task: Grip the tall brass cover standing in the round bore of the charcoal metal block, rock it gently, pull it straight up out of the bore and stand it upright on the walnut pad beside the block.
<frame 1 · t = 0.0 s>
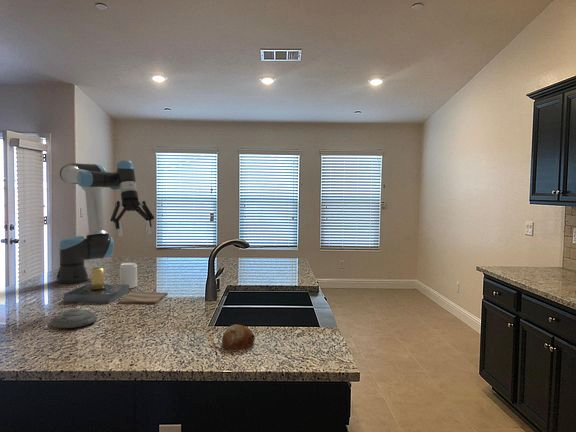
hand: (135, 234, 187), 28 cm above the counter, tool tilted 20°, fingers open, 13 cm apart
white cylinder: (128, 287, 200), on the counter
walnut pad: (144, 298, 179), on the counter
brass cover: (97, 282, 181), in the bore block
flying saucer: (74, 324, 144), on the counter
bread roll: (238, 344, 127), on the counter
bore block: (98, 296, 181), on the counter
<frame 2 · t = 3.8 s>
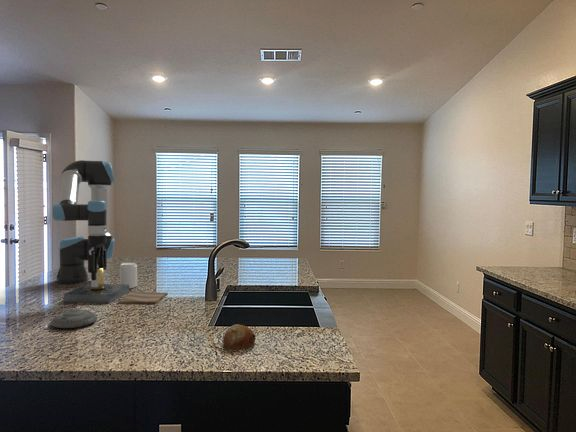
hand: (97, 285, 181), 5 cm above the counter, tool pointing down, fingers closed on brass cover, 5 cm apart
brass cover: (97, 282, 181), in the bore block, touching gripper
everything else where it was.
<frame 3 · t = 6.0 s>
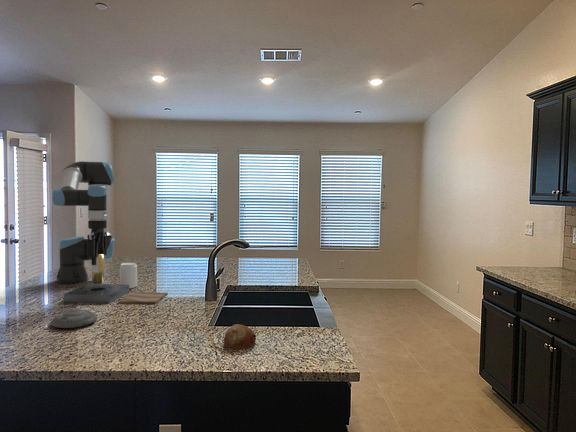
hand: (98, 270, 181), 12 cm above the counter, tool pointing down, fingers closed on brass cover, 5 cm apart
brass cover: (98, 268, 181), point 13 cm above the counter, touching gripper
everything else where it was.
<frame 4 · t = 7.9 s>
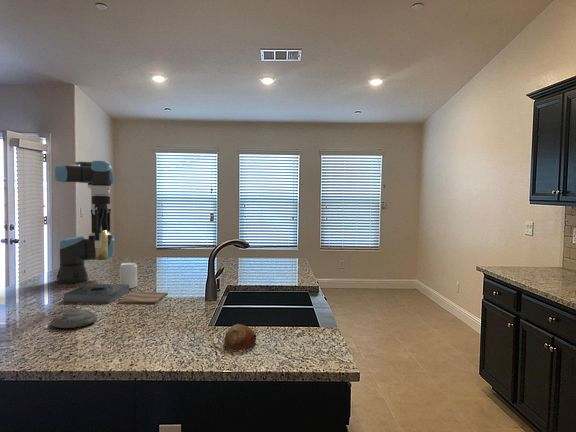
hand: (101, 246, 179), 23 cm above the counter, tool pointing down, fingers closed on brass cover, 5 cm apart
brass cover: (101, 244, 179), point 24 cm above the counter, touching gripper
everything else where it was.
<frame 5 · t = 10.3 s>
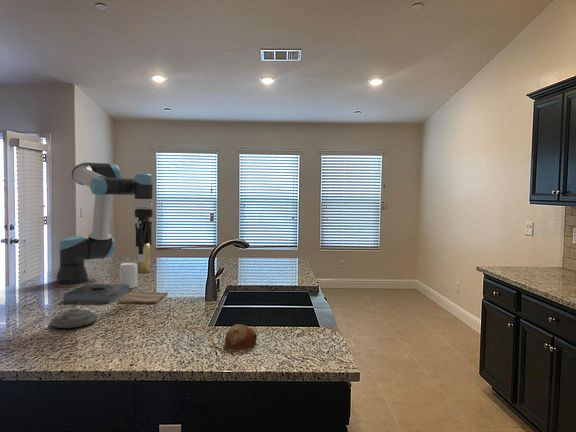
hand: (144, 260, 178), 18 cm above the counter, tool pointing down, fingers closed on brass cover, 5 cm apart
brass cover: (144, 258, 177), point 18 cm above the counter, touching gripper
everything else where it was.
when the fingers open (7 cm above the counter, at t = 12.3 s): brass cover stays where it is, resting on walnut pad.
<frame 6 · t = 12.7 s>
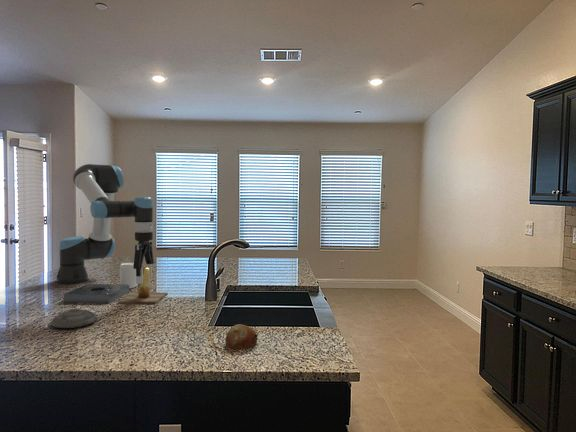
hand: (144, 280, 178), 8 cm above the counter, tool pointing down, fingers open, 10 cm apart
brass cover: (143, 282, 178), on the walnut pad, point 8 cm above the counter
everything else where it was.
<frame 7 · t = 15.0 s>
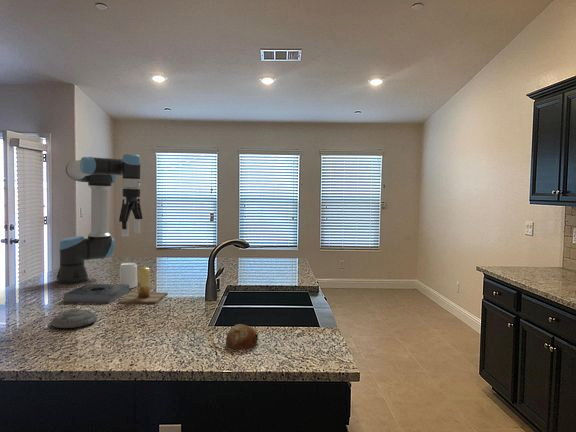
hand: (131, 234, 182), 28 cm above the counter, tool pointing down, fingers open, 13 cm apart
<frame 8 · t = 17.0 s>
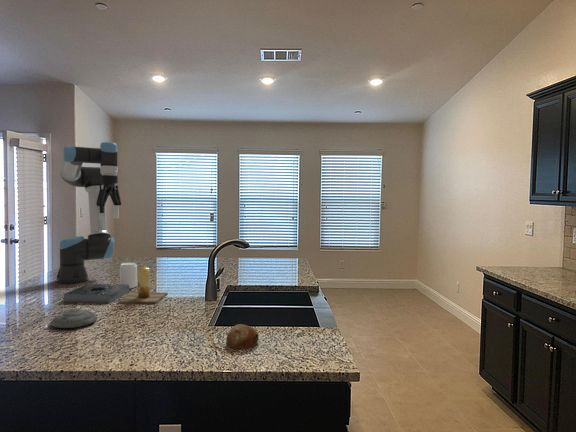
hand: (109, 219, 191), 35 cm above the counter, tool pointing down, fingers open, 13 cm apart
at the end: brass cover inside the target area on the walnut pad (0.0 cm from its centre), point 7.5 cm above the walnut pad's base; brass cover tilted 0°; the gripper is holding nothing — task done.
